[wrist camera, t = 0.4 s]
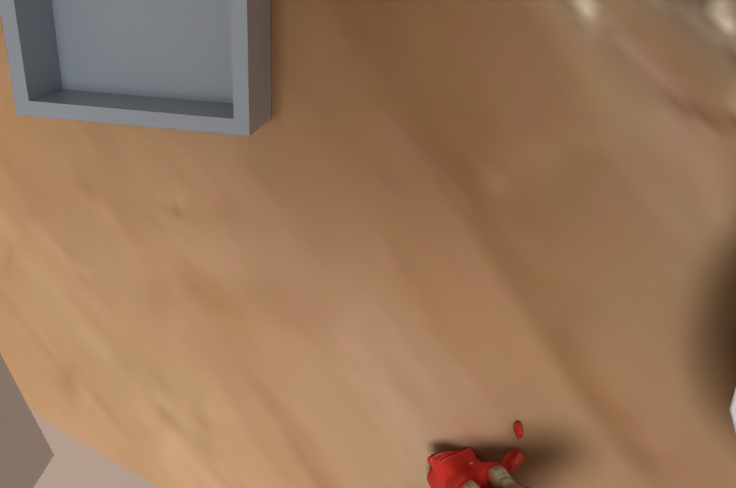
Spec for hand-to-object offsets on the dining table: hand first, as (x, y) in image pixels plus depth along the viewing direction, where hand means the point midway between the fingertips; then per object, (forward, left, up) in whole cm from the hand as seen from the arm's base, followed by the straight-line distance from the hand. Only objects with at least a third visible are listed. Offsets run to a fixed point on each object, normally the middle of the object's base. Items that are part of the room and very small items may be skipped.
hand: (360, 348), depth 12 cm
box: (-4, -15, -26) cm, 31 cm away
